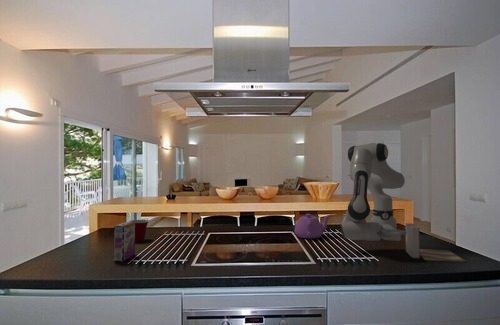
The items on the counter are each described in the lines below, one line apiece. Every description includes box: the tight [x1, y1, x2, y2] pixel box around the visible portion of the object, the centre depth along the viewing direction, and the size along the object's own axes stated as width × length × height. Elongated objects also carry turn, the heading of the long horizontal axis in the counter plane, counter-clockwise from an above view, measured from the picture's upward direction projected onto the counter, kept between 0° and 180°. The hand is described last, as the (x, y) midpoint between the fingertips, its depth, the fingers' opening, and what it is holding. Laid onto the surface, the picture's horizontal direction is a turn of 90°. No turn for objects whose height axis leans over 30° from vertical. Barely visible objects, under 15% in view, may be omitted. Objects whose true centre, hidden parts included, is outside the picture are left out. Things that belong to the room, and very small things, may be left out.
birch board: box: [420, 248, 466, 263], centre depth 134 cm, size 16×16×1 cm
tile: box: [404, 222, 421, 259], centre depth 137 cm, size 10×3×14 cm, turn 167°
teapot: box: [294, 213, 331, 239], centre depth 174 cm, size 22×22×14 cm
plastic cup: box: [129, 219, 150, 243], centre depth 169 cm, size 11×11×12 cm
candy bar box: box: [113, 221, 136, 263], centre depth 136 cm, size 11×5×16 cm, turn 175°
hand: (405, 232), depth 137 cm, fingers closed
